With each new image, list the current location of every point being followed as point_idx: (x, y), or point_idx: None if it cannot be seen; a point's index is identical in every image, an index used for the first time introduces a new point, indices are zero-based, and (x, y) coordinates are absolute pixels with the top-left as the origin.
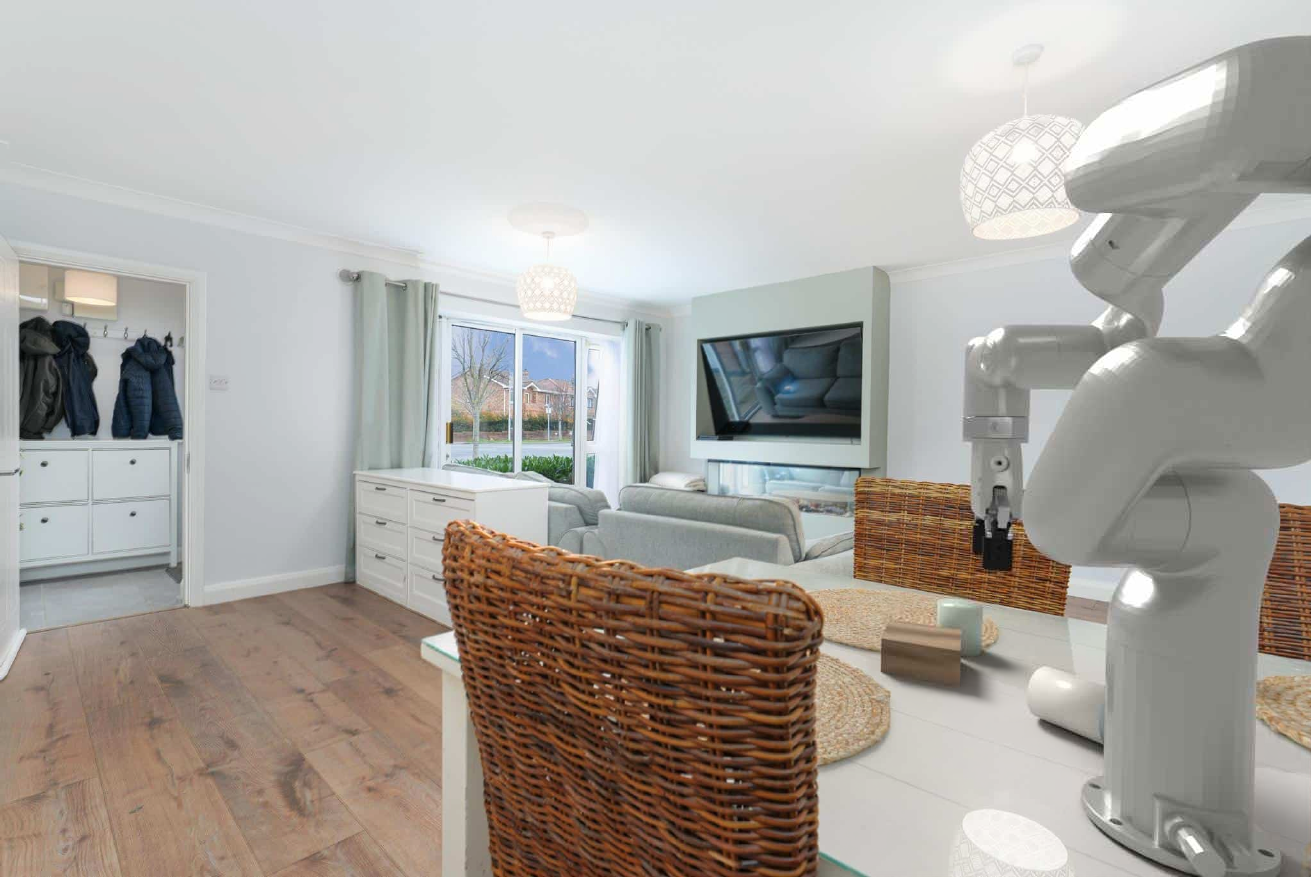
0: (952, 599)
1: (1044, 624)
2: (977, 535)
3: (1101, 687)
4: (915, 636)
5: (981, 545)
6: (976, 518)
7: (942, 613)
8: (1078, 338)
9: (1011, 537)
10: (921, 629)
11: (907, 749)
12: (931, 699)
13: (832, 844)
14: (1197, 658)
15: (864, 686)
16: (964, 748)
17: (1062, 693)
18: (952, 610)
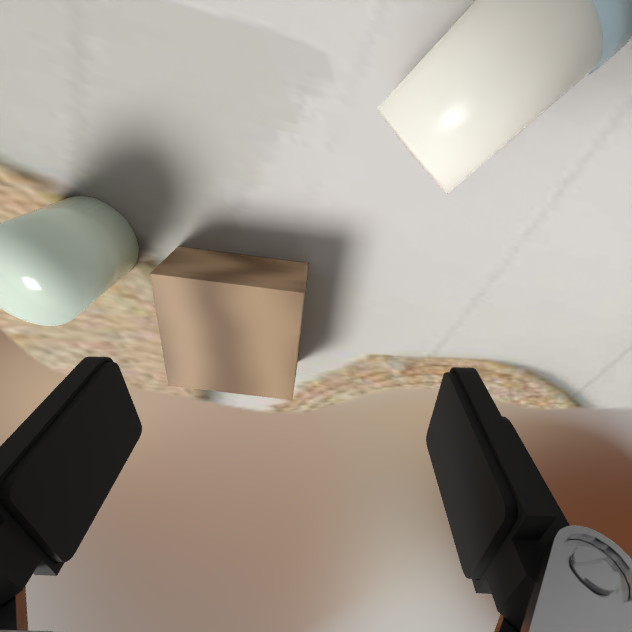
0: None
1: None
2: (92, 502)
3: (560, 41)
4: (251, 355)
5: (115, 443)
6: (24, 629)
7: (85, 308)
8: None
9: (618, 554)
10: (198, 342)
11: (547, 346)
12: (382, 308)
13: None
14: None
15: (364, 380)
16: (540, 286)
17: (511, 137)
18: (85, 298)
